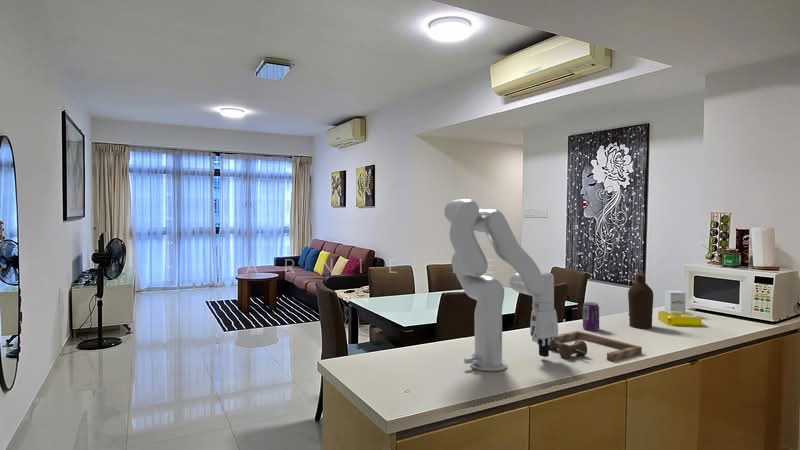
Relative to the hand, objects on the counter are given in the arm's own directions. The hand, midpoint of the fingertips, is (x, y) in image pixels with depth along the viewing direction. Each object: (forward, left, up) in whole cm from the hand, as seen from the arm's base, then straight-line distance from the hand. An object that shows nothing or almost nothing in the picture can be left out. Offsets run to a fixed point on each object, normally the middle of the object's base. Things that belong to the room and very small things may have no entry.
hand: (543, 355), depth 167 cm
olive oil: (+77, +11, -2) cm, 78 cm away
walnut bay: (+28, 0, -1) cm, 28 cm away
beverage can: (+53, +20, -2) cm, 57 cm away
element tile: (+100, +6, -2) cm, 100 cm away
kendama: (+12, +1, -2) cm, 12 cm away
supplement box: (+115, +16, -2) cm, 116 cm away
